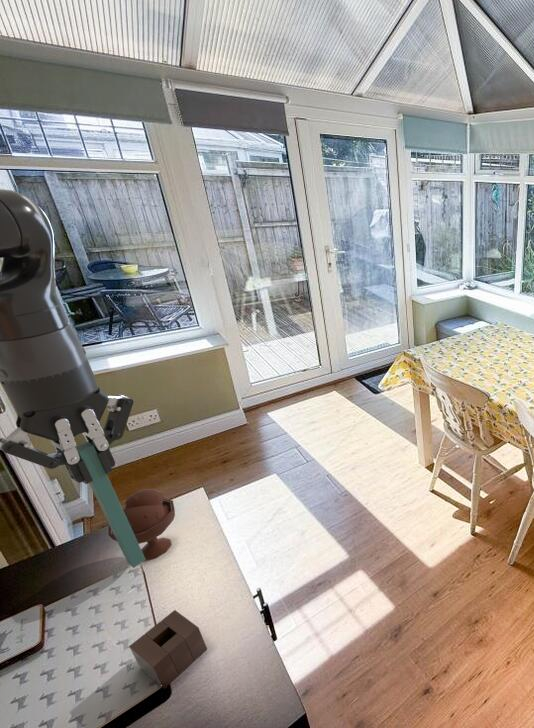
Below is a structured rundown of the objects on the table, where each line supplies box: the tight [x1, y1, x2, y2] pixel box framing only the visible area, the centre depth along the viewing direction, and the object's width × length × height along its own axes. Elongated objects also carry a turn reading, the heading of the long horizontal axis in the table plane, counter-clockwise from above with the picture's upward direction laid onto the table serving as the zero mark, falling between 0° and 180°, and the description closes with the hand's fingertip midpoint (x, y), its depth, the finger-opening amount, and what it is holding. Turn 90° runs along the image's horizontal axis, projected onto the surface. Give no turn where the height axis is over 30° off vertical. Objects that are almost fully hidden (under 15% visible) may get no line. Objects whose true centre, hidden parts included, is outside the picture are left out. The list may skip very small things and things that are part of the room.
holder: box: [128, 609, 208, 690], centre depth 70 cm, size 7×7×6 cm
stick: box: [76, 441, 147, 569], centre depth 60 cm, size 2×2×22 cm
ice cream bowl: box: [107, 488, 176, 561], centre depth 87 cm, size 11×11×15 cm
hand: (96, 475), depth 57 cm, fingers closed on stick, 1 cm apart
